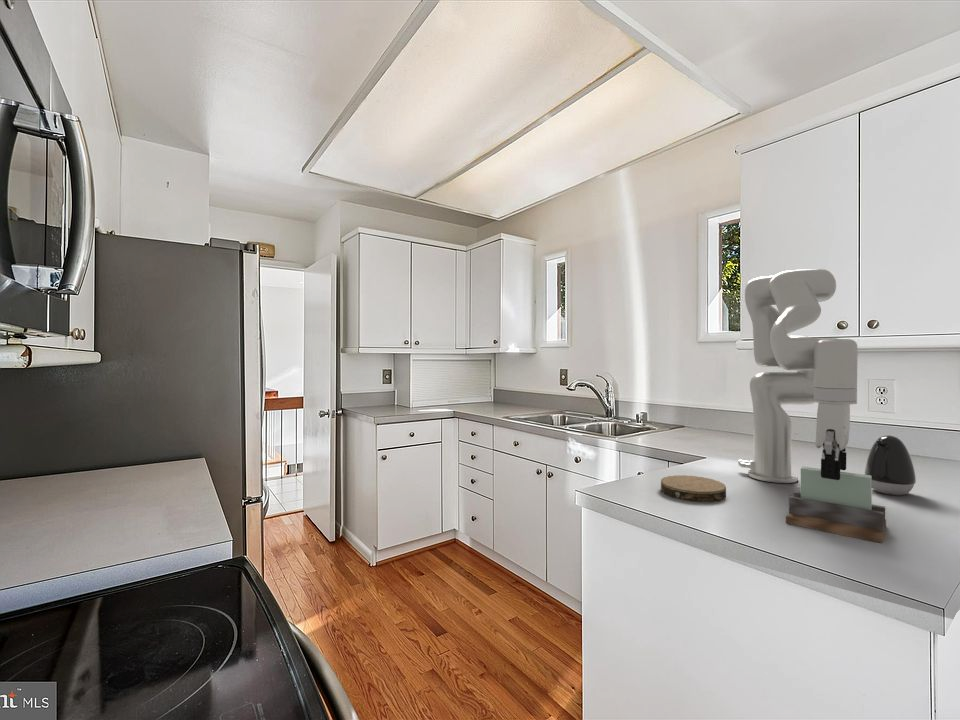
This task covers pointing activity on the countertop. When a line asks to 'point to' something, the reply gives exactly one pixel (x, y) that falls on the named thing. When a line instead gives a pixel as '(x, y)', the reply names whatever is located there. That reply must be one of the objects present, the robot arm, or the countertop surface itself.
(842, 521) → the track board
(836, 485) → the door panel
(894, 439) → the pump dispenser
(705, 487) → the brown flat round disc
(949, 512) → the countertop surface
